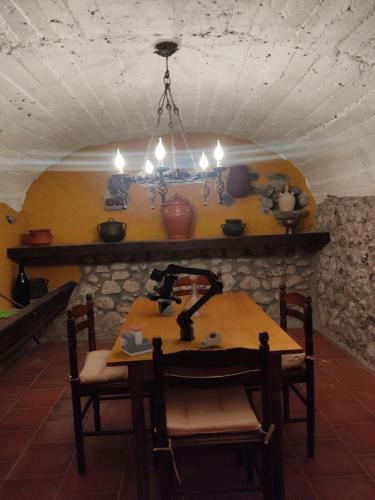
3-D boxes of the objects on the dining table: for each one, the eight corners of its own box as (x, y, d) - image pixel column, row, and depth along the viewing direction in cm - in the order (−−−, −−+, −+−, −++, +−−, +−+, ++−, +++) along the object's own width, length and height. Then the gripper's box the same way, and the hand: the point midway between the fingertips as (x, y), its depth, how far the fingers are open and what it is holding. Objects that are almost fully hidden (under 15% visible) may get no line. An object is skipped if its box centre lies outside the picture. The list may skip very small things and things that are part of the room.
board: (146, 345, 209) (146, 343, 209) (156, 350, 201) (156, 348, 201) (122, 350, 202) (122, 348, 202) (131, 356, 194) (131, 353, 194)
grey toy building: (146, 343, 209) (145, 327, 209) (156, 348, 201) (155, 331, 200) (122, 348, 202) (121, 332, 201) (131, 353, 194) (130, 337, 193)
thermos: (157, 314, 276) (155, 261, 273) (175, 313, 277) (173, 261, 274) (158, 317, 267) (156, 263, 264) (176, 316, 268) (174, 262, 266)
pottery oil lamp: (196, 345, 206) (195, 331, 205) (217, 342, 210) (217, 328, 210) (203, 350, 198) (202, 336, 197) (225, 347, 202) (225, 332, 202)
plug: (136, 346, 204) (135, 325, 203) (142, 349, 199) (141, 328, 198) (119, 350, 199) (118, 329, 198) (124, 353, 194) (123, 331, 193)
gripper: (176, 282, 229) (168, 308, 231) (146, 278, 219) (138, 305, 221) (185, 289, 219) (177, 317, 222) (154, 285, 210) (146, 314, 212)
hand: (160, 313), depth 220 cm, fingers closed
